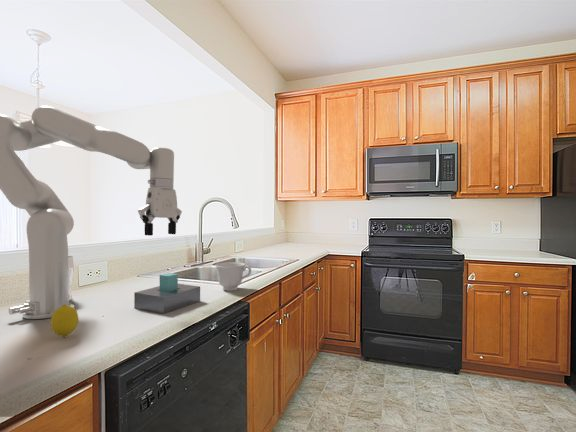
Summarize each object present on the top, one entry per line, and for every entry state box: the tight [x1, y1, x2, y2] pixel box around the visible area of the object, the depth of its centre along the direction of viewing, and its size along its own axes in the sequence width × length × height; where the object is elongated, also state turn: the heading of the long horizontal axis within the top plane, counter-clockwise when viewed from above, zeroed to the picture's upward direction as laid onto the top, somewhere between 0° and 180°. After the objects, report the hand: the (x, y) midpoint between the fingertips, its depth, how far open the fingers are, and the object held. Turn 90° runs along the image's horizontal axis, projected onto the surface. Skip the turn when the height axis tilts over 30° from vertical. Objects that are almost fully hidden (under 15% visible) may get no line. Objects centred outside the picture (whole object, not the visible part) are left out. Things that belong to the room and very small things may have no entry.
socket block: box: [133, 283, 201, 315], centre depth 107 cm, size 16×13×5 cm
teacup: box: [214, 261, 252, 292], centre depth 128 cm, size 12×15×10 cm
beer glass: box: [68, 255, 74, 302], centre depth 111 cm, size 7×7×15 cm
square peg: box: [159, 272, 179, 292], centre depth 107 cm, size 4×4×10 cm
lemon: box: [50, 305, 79, 338], centre depth 78 cm, size 6×6×8 cm
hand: (160, 234), depth 110 cm, fingers open, 9 cm apart
